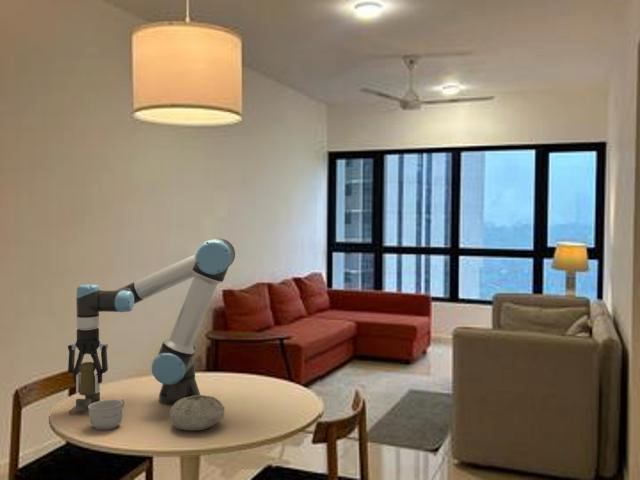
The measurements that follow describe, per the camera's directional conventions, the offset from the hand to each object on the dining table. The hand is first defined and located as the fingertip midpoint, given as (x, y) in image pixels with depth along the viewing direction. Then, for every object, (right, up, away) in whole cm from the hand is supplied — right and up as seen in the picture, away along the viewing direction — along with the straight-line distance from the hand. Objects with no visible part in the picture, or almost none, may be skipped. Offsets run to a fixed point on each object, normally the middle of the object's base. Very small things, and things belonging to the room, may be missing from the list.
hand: (88, 391), depth 224 cm
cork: (0, -1, 0) cm, 1 cm away
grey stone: (+42, -8, -16) cm, 46 cm away
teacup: (+13, -8, -16) cm, 22 cm away
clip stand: (0, -7, 0) cm, 7 cm away
